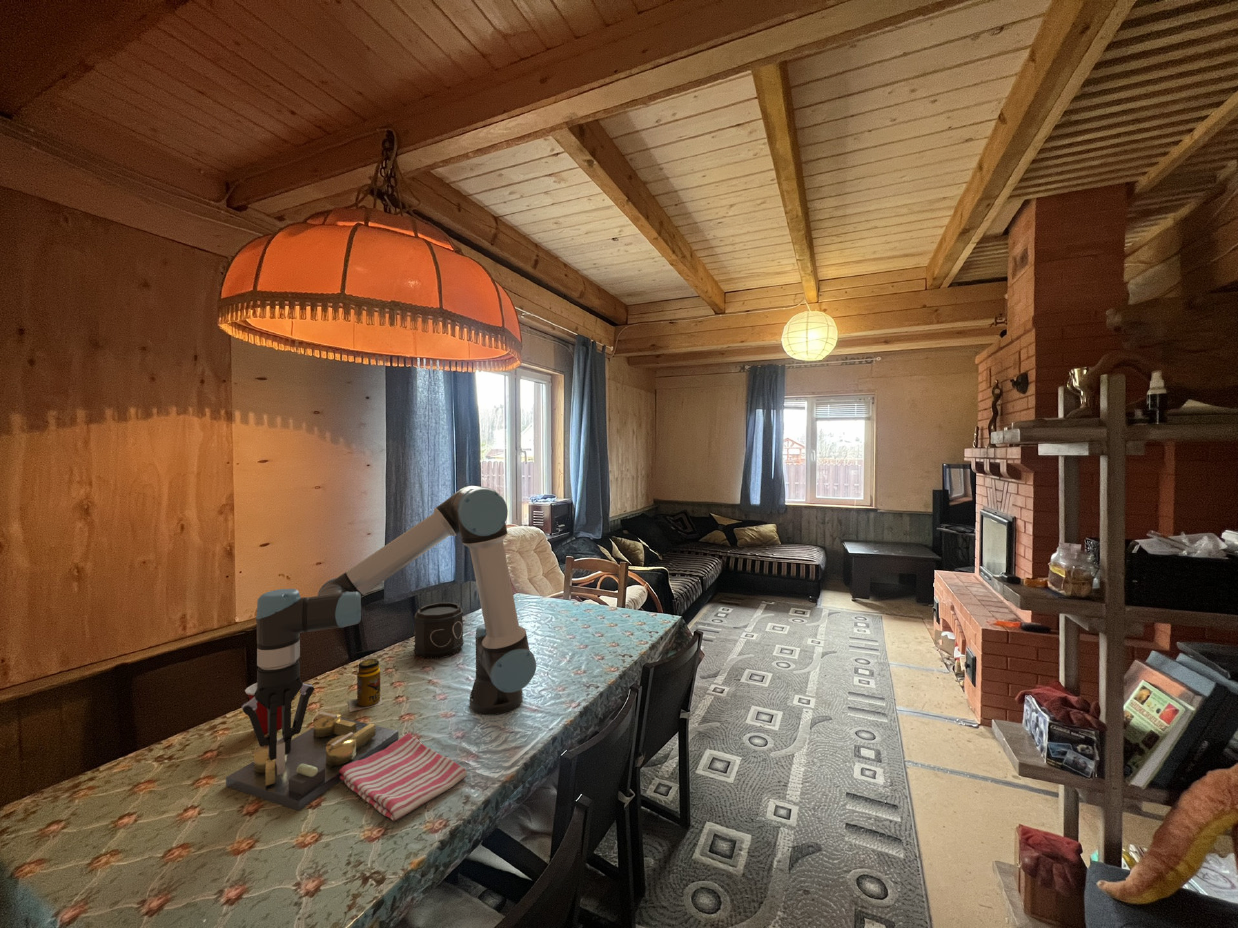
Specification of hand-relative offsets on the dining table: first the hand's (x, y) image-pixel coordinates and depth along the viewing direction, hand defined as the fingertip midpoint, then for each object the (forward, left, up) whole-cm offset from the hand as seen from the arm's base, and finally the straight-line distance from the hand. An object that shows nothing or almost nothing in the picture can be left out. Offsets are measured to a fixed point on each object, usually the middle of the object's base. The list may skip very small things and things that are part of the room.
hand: (279, 770), depth 101 cm
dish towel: (-24, -10, -4) cm, 26 cm away
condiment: (+12, -33, -4) cm, 36 cm away
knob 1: (+4, -1, -1) cm, 4 cm away
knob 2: (+3, -16, -1) cm, 17 cm away
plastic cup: (+25, -15, -4) cm, 30 cm away
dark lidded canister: (+18, -72, -4) cm, 75 cm away
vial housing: (-8, 0, -1) cm, 8 cm away
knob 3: (-7, -12, -1) cm, 14 cm away
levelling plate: (0, -9, -3) cm, 10 cm away
